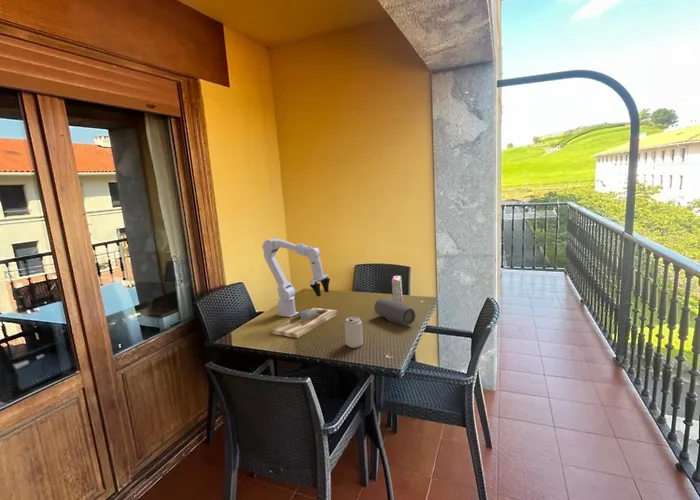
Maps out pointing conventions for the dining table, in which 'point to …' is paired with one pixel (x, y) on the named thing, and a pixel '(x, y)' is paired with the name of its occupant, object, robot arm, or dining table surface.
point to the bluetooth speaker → (395, 311)
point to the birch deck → (299, 330)
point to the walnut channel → (304, 320)
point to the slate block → (307, 314)
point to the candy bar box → (397, 289)
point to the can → (353, 332)
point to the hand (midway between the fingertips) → (322, 294)
